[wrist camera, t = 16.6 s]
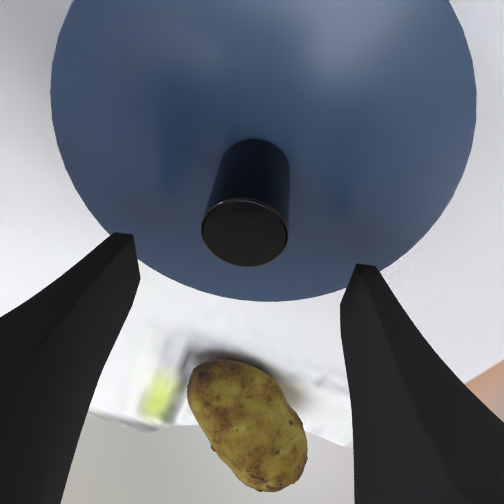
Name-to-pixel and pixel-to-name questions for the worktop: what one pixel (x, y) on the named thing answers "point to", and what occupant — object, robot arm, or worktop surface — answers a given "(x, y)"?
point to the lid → (264, 133)
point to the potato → (248, 423)
